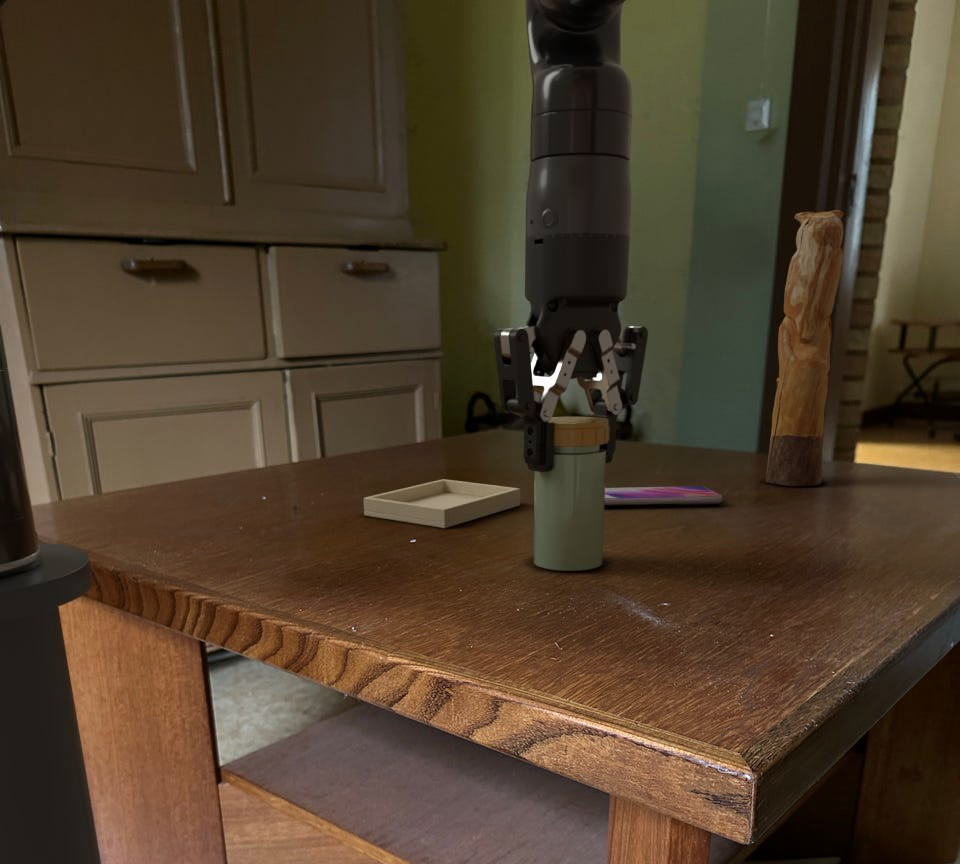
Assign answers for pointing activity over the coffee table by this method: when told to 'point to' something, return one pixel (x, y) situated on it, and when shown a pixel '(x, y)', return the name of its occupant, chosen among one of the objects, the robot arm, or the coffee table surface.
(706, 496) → the smartphone
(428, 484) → the tray
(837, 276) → the sculpture
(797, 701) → the coffee table surface
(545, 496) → the jar
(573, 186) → the robot arm
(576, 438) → the jar lid
